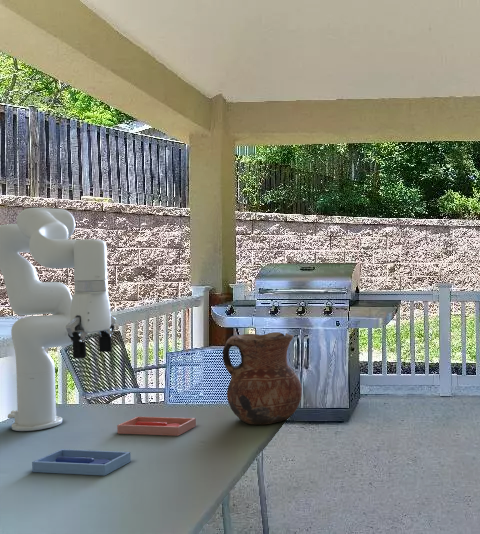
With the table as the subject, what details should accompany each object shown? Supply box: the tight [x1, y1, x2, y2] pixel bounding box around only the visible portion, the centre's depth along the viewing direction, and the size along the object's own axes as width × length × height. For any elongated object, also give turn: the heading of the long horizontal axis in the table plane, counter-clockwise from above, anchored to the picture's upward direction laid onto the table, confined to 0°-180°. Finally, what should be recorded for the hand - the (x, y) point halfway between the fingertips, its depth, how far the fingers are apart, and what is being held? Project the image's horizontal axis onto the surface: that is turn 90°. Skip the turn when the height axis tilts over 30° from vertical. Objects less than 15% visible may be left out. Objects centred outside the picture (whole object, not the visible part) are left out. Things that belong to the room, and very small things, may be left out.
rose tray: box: [116, 416, 197, 437], centre depth 168 cm, size 18×9×2 cm, turn 80°
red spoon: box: [135, 422, 180, 427], centre depth 168 cm, size 13×4×2 cm, turn 80°
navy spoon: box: [56, 457, 109, 464], centre depth 139 cm, size 13×4×2 cm, turn 80°
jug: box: [222, 331, 303, 426], centre depth 177 cm, size 22×21×25 cm
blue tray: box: [31, 448, 132, 477], centre depth 139 cm, size 18×9×2 cm, turn 80°
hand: (92, 354), depth 155 cm, fingers open, 9 cm apart
